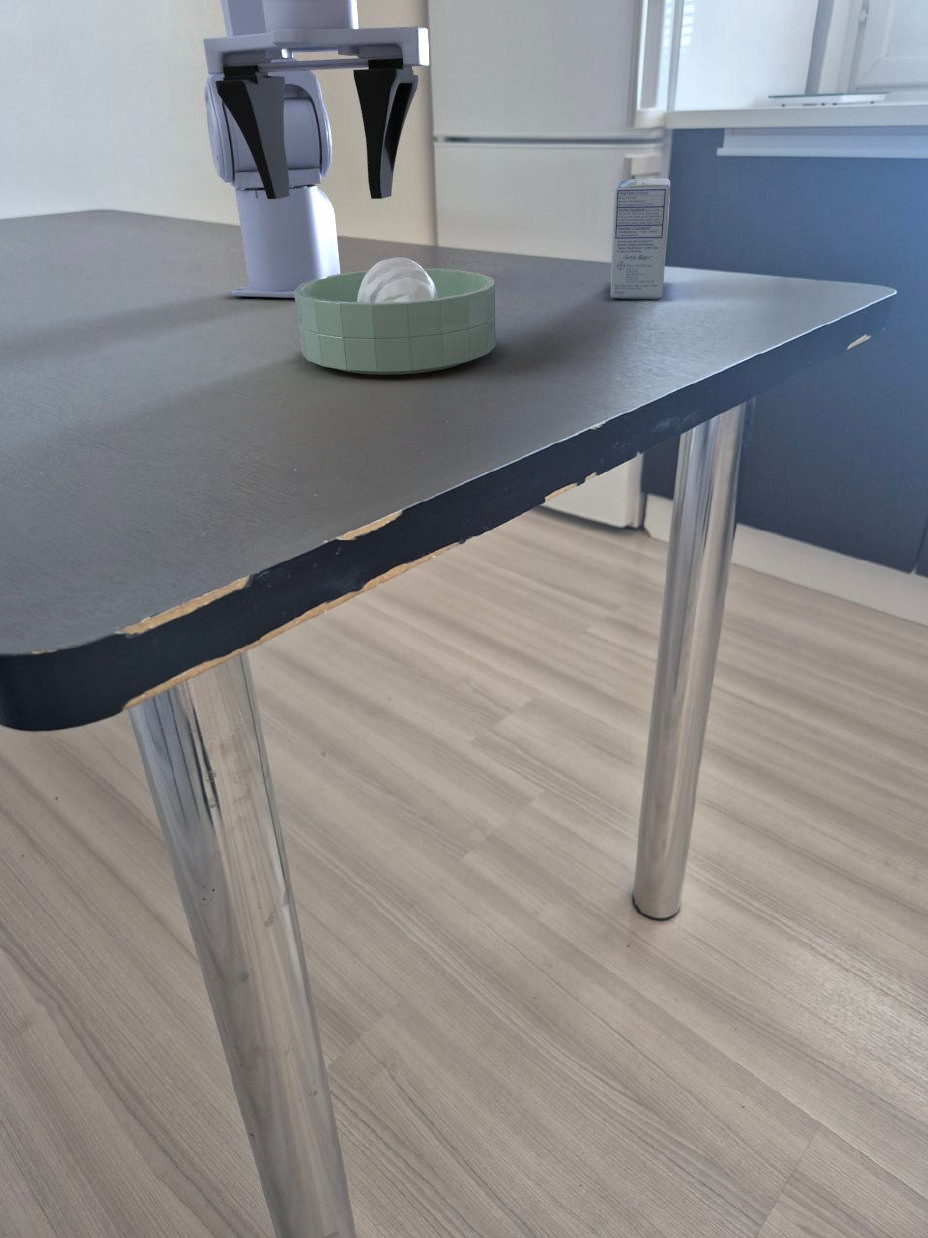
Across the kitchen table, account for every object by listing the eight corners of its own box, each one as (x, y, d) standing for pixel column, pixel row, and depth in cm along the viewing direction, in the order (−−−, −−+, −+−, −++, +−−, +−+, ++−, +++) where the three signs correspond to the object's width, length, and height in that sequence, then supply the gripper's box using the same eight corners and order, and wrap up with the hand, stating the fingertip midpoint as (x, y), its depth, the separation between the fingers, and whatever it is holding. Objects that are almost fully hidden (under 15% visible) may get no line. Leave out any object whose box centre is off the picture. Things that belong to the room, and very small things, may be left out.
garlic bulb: (381, 362, 54) (374, 270, 51) (356, 342, 59) (348, 258, 56) (461, 352, 55) (458, 263, 53) (430, 334, 60) (427, 251, 57)
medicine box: (662, 300, 71) (672, 184, 66) (608, 299, 72) (614, 185, 67) (662, 283, 77) (671, 177, 73) (613, 283, 78) (619, 178, 74)
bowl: (350, 329, 64) (344, 266, 62) (515, 336, 61) (515, 269, 59) (268, 374, 54) (258, 300, 52) (463, 385, 50) (461, 306, 48)
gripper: (160, -57, 49) (203, 203, 56) (394, -79, 45) (409, 203, 52) (223, -41, 55) (255, 193, 62) (435, -59, 51) (444, 192, 58)
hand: (329, 197), depth 57 cm, fingers open, 7 cm apart
